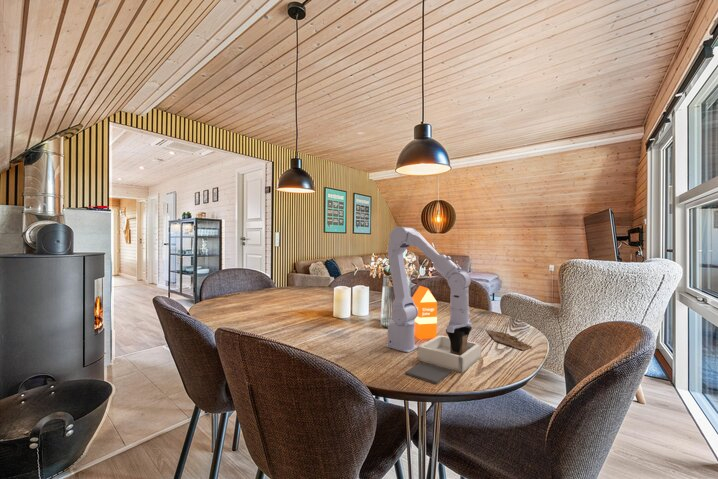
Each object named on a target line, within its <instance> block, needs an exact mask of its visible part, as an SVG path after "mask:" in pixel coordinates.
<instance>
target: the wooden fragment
mask: <svg viewBox="0 0 718 479" xmlns="http://www.w3.org/2000/svg"><path fill="white" fill-rule="evenodd" d="M485 331H486V332H487V333H488V335H490V337H491V338H492V339H493V341H495V342H498V343H499V344H500V343H501V344H503V345H507V346H510V347H513V348H515V349H520V350H522V352H524V351H529V349H532V347H533V346H532V345H530V344H528V343H524V341H521V340H519V339H518V337H516V336H513V335H511V334H508V333H504V332H501V331H494V330H490V329H485Z"/></svg>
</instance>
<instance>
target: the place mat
mask: <svg viewBox="0 0 718 479" xmlns="http://www.w3.org/2000/svg"><path fill="white" fill-rule="evenodd" d="M452 373H453V370H451V369H447V368H444V367H440V366H437V365H433V364H430V363H426V362H423V361H420V362H419V363H418V364H416V365H414V366H412V367H411V368H410V369H408V370H406V371H405V373H404V374H405V375H408V376H411V377H413V378H417V379H420V380H424V381H426V382H429V383H433V384H435V385H437V384H439V383H440V382H441V381H443V380H444V379H445V378H447V377H448V376H450V375H451V374H452Z"/></svg>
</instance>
